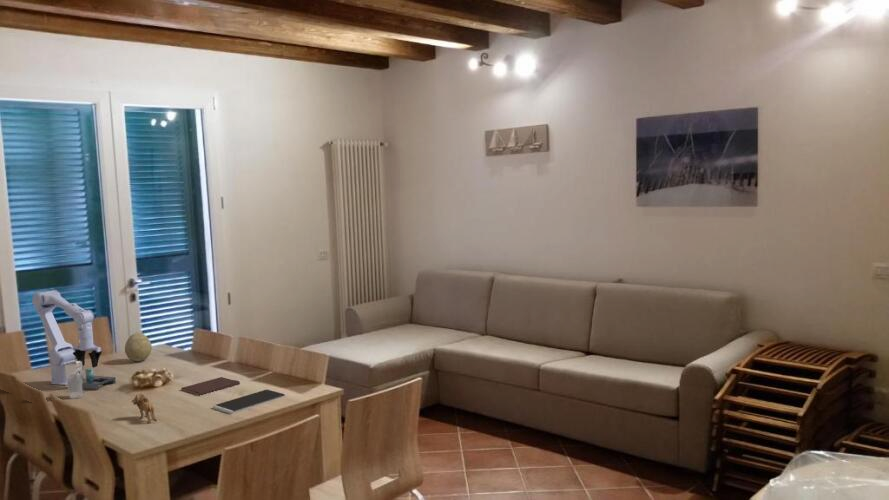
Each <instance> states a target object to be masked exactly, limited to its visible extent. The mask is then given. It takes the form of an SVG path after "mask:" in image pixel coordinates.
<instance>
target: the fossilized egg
mask: <svg viewBox="0 0 889 500" xmlns="http://www.w3.org/2000/svg"><path fill="white" fill-rule="evenodd" d="M124 353H125V355H126V357H127V358H128V359H129V360H131V361H133V362H137V363H138V362H143V361H145V360H146V359H147V358H148V357H150V355H151V354H152V342H151V340H150V339H149V338H148V336H147V335H146V334H144V333H142V332H135V333H132V334H131V335H130V336H129V337H128V338H127V340H126V342H125V346H124Z"/></svg>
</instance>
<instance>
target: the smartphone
mask: <svg viewBox="0 0 889 500" xmlns="http://www.w3.org/2000/svg"><path fill="white" fill-rule="evenodd" d="M285 396H286V397H287V394H286V393H284V392H283V393H282V392H280V391H276V390H273V389H264V390H260V391H257V392H253V393H249V394H247V395H242V396H240V397H238V398H233V399H229V400H227V401H224V402H219V403H217V404H213V405H212V409H213V410H216V411H219V412H222V413H226V414H228V415H234V414H237V413H240V412H242V411H247V410H249V409H253V408H255V406H256V407H258V405H259V406H261V404H262V405H264V403H265V404H268V403H271V402H274V401H276V399H277V400H279V399H283V398H286V397H285ZM267 402H268V403H267ZM252 407H253V408H252Z"/></svg>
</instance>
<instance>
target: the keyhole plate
mask: <svg viewBox="0 0 889 500" xmlns="http://www.w3.org/2000/svg"><path fill="white" fill-rule="evenodd" d="M104 384H110V385H111V384H112V385H115V384H117V381H116V376H114V377H113V376H106V375H105V376H104V375H94V378H92V380H88V379H86V377H85V378H83V390H90V391H91V390H92V391H98V390H99V389H100V388H99V386H101V385H104Z"/></svg>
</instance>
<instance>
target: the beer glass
mask: <svg viewBox="0 0 889 500" xmlns="http://www.w3.org/2000/svg"><path fill="white" fill-rule="evenodd" d="M84 373H85V371H84V366H83V365H82V361H77V360H75V361H72V362H68V363H65V377H66V381H67V384H68V385H67V386H68V399H70V400H74V399H75V400H76V399H80V398H83V397H85V392H84V389H83V379H84Z"/></svg>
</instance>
